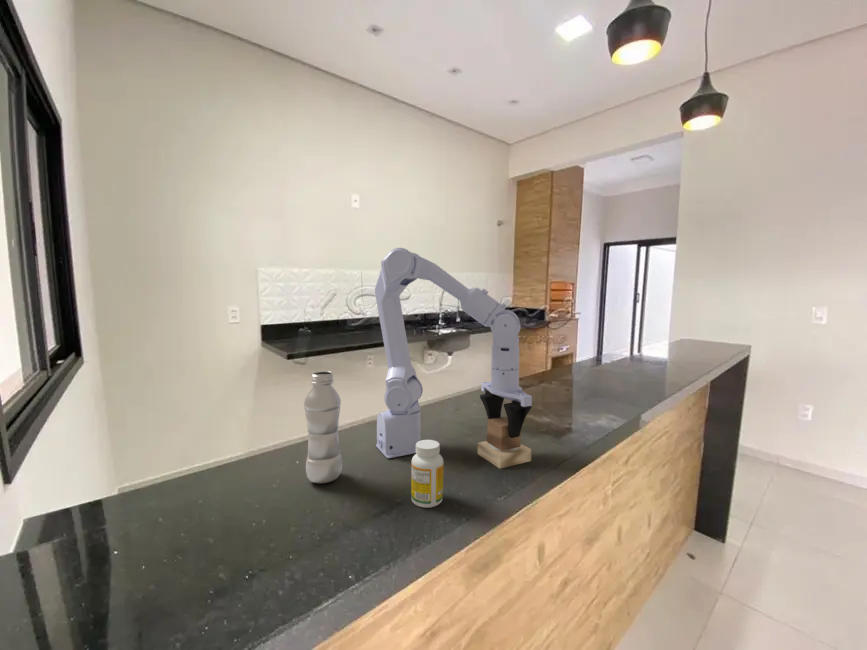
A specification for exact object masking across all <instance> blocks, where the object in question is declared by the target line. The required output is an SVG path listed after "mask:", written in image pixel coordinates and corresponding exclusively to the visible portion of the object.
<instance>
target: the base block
mask: <svg viewBox="0 0 867 650" xmlns="http://www.w3.org/2000/svg"><path fill="white" fill-rule="evenodd" d="M477 455H478V456H480V457H481V458H483V459H484V460H486V461H488V462H489V463H490V464H492V465H494V466H495V467H496V468H498V469H505V468H508V467H513V466H516V465H520V464H525V463H528V462H529V463H530V462H532V448H531V447H528V446H526V445H524V444H523V443H521V447H516V448H511V449H506V450H500V449H498V448H496V447H494V446H493V445H491V444H489V443H487V440H486V441H480V442H477Z"/></svg>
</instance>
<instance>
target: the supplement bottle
mask: <svg viewBox="0 0 867 650" xmlns="http://www.w3.org/2000/svg"><path fill="white" fill-rule="evenodd" d="M440 446H441V445H440V443H439V442H438V441H437V440H434V439H422V440H421V439H420V441H418V442H417V443H416V453H414V455H413V456H412V459H411V464H410V465H411V466H410V467H411V470H410V471H411V473H410V474H411V476H410V481H411V485H410V487H411V488H410V489H411V491H410V496H411V497H410V498H411V502H412V503H413V504H414V505H415V506H417V507H419V508H424V509H425V508H428V509H429V508H434V507H437V506H438V505H440V504H441V503H442V501H443V499H444V457H443V456H442V454H440V450H441V447H440Z"/></svg>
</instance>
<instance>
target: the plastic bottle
mask: <svg viewBox="0 0 867 650" xmlns="http://www.w3.org/2000/svg"><path fill="white" fill-rule="evenodd" d="M333 375H334V374H333V371H326V370H325V371H324V370H323V371H316V372H313V373H311V385H312V387H311V389H310V390H309V392H307V394H306V397H305V399H304V402H303V406H304V413H305V419H306V425H307V426H306V427H307V432H308V433H307V436H308V440H307V441H308V444H307V456H306V460H305V461H306V462H305V473H306V477H307V479H308V480H309V481H310V482H311V483H315V484H326V483H330V482H333V481H335V480H337V479H338V477H339V476H340V474H341V473H342V470H343V469H342V468H343V460H342V459H343V458H342V455H341V450H340V449H341V448H340V441H339V440H340V439H339V422H340V421H339V419H340V413H341V405H342V404H341V402H342V401H341V397H340V395H339V393H338V392H337V390H336V388H334V386H333V385H332V384H334V376H333Z"/></svg>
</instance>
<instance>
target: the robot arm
mask: <svg viewBox="0 0 867 650" xmlns="http://www.w3.org/2000/svg"><path fill="white" fill-rule="evenodd" d="M380 268H381V269H380V272H379V275H378V278H377V281H376V284H375V287H374V295H375V301H376V305H377V306H376V307H377V313H378V318H379V324H380V329H381V335H382V341H383V346H384V351H385V357H386V363H387V368H388V370H387V372H386V373H387V374H386V377H385V385H386V386H385V388H386V389H385V393H384V402H385V405H386V406H387V410H385V411H383V412H379V413H378V414H377V417H376V444H375V446H376V447H377V449H378V450H379V451H380V452H381V453H382V454H383V455H384V457H385V458H386V459H392V458H397V457H402V456H408V455H413V454H416V443H417V442H418V441H421V405H420V403H419V400H420V398H421V397H422V395H423V391H424V388H423V385H422V382H421V381H420V379H418V378H419V377H418V376H417V372H416V371H417V370H416V369H415V368H414V366H413V364H412V361H411V356H410V349H409V344H408V343H409V342H408V338H407V334H406V333H407V331H406V326H405V322H404V315H403V308H402V304H401V303H402V302H401V298H400V297H401V295H402V293H403V292H404V291H405V289H406V288H407V287H408V286H409V285H410V284H412V283H414V281H416V280H417V279H418V280H419V279H420V280H424V281H425V280H426V281H429V282H432V283H433V284H435V285H436V286H438V287H439V288H440V289H442V290H443V291H445V292H446V293H448V294H449V295H451V296H452V297H454V298H455V299H457V300H459V302H460V308H461V310H462V311H463V312H464V313H465V314H467V315H468V316H470V317H471V318H473V319H474V320H475V321H477V322H478V323H479V324H481V325H482V326H484V327H486V328H487V327H489V328H490V331H491V333H492V345H491V366H490V367H491V371H490V372H491V373H490V374H491V375H490V376H491V377H490V381H483V382H481V386H480V387H481V392H484V394H480V395H479V399H480V401H481V402H482V404H483V407H484V410H485V413H486V416H487V417H486V418H487V420H488V419H493V418H500V417H501V415H502V407H503V408H504V410H505V413H506V417H507V418H508V431H509V437H511V438H515V437H519V436H520V432H521V433H522V428H523V425H524V422H525V420H526V417H527V416H528V414H529V413H530V411H531V409H532V405H533V403H532V402H533V395H531V394H528V393H526V392H524V391H523V387H521V386H520V346H519V344H520V337H519V334H520V331H521V329H522V328H521V327H522V326H521V323H520V319H519V317H518V315H517V314H516V313H515V312H514V311H513V310H511V309H506V308H507V307H508V306H507V304H505V303H502V304H501V303H500V302H498V301H497V300H496V299H494V298H493V297H492V296H490V295H489V291H488V290H487V289H486V288H482V289H480V288H479V287H472V288H468V287H466V285H464V284H463V283H462V282H460V281H459V280H457V278H455V277H454V276H452V275H451V274H450V273H448V272H447V271H445V269H443V268H442V267H440V266H439V265H437V263H435V262H433V261H431V260H428V259H426V258H425V257H422V256H421V255H419V254H418V253H415V252H411V251H409V250H408V249H407V248H405V247H395V248H393V249H391V250H390V251H389V252H388V253H387V254H386V255H385V256H384V258H383V259H382V260H381V262H380ZM505 400H509V401H511V402H508V403H504V401H505Z"/></svg>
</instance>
